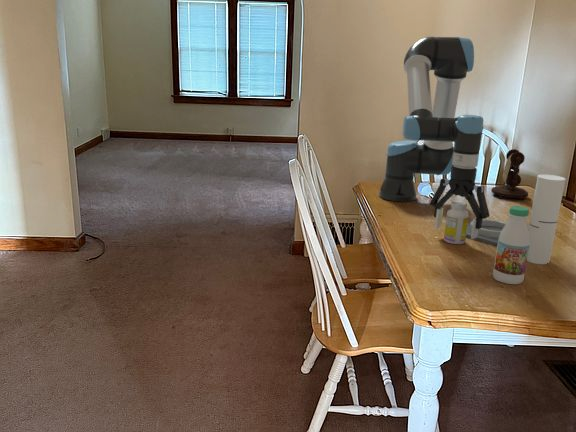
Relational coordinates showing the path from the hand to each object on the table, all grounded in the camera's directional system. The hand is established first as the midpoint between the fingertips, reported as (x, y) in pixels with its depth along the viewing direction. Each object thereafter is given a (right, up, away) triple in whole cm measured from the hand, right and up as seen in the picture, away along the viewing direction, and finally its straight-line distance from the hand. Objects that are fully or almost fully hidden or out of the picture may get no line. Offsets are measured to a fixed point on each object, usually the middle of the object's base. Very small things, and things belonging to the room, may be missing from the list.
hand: (455, 232), depth 168 cm
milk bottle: (+5, -12, -27) cm, 30 cm away
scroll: (+42, +14, +59) cm, 74 cm away
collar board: (+15, -1, +9) cm, 18 cm away
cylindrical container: (+20, -8, -12) cm, 25 cm away
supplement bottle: (0, -3, +1) cm, 3 cm away
